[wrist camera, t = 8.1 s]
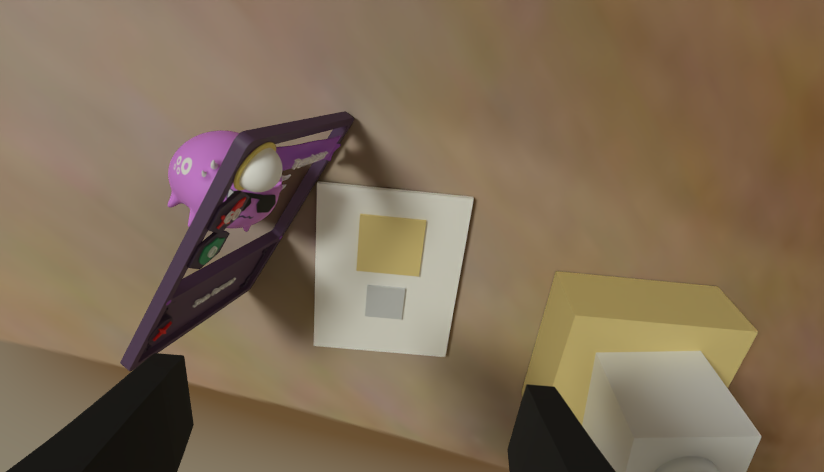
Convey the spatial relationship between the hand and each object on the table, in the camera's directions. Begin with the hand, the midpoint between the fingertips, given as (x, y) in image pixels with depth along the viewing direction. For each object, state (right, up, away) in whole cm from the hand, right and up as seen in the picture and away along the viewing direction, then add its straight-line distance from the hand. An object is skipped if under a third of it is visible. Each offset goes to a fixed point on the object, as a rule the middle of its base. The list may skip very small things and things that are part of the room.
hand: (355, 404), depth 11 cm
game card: (-5, +6, +9) cm, 12 cm away
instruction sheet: (0, +2, +11) cm, 11 cm away
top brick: (+10, -3, +10) cm, 15 cm away
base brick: (+10, -1, +12) cm, 16 cm away
